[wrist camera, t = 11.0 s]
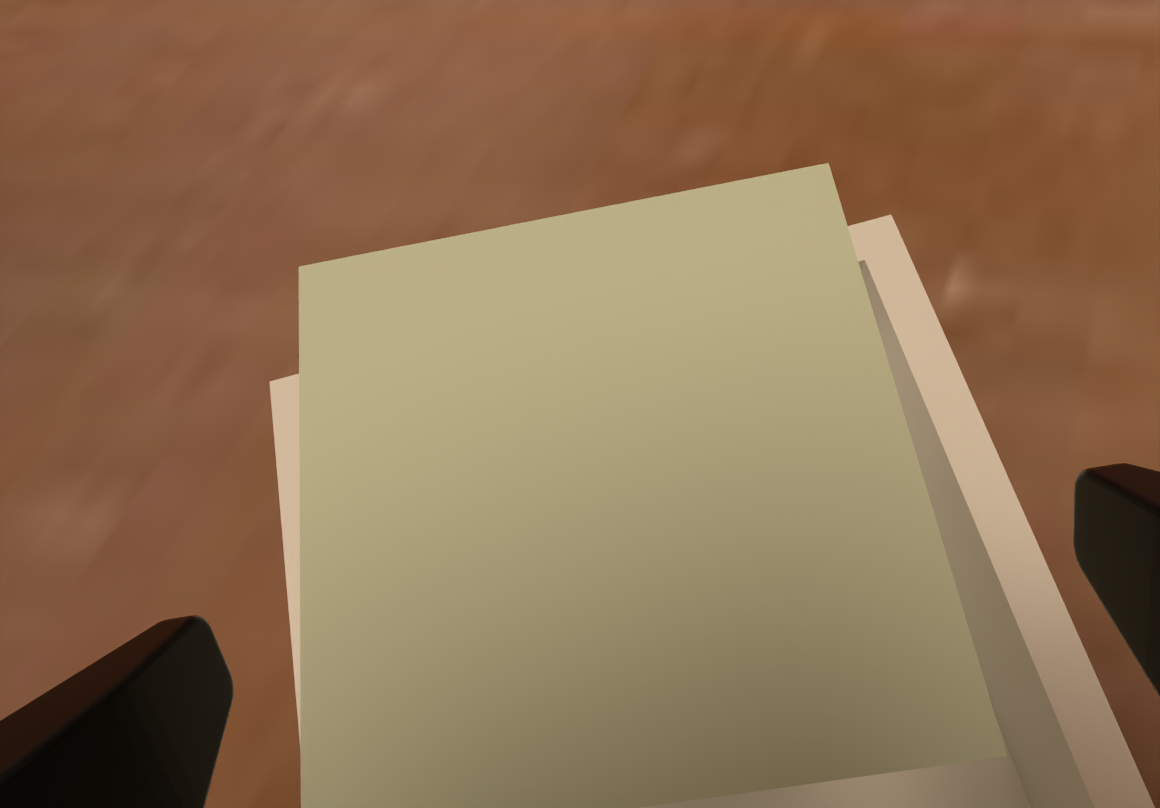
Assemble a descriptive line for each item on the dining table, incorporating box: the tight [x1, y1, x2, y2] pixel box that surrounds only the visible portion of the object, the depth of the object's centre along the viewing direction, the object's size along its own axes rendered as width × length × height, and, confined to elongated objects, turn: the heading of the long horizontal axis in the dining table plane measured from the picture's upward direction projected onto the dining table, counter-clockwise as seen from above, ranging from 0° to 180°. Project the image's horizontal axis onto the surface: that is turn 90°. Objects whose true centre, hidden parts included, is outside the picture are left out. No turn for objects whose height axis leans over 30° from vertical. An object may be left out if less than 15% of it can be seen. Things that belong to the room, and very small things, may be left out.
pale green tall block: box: [299, 163, 1007, 808], centre depth 12 cm, size 5×5×11 cm
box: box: [270, 215, 1155, 808], centre depth 16 cm, size 13×13×4 cm
